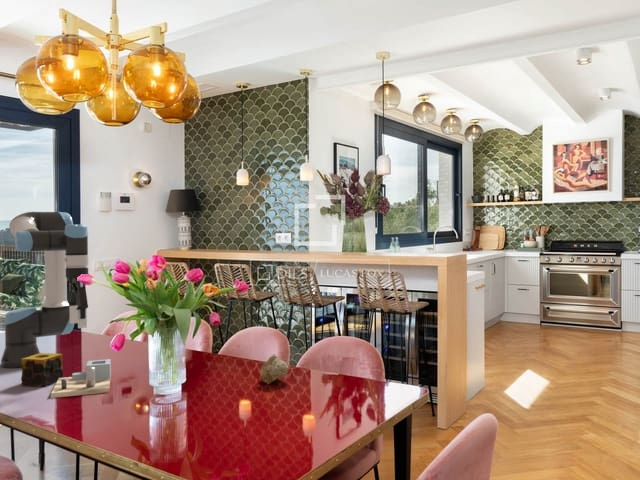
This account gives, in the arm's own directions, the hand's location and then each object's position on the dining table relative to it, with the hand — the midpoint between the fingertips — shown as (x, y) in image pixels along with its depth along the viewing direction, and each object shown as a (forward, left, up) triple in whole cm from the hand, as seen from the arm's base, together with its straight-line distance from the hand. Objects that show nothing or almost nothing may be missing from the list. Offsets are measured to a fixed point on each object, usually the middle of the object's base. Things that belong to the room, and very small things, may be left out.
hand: (78, 325), depth 195 cm
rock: (+21, +67, -22) cm, 73 cm away
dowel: (+9, -4, -20) cm, 22 cm away
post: (+9, +5, -20) cm, 23 cm away
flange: (-3, +4, -20) cm, 21 cm away
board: (+3, +2, -22) cm, 22 cm away
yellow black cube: (-9, -13, -22) cm, 27 cm away
